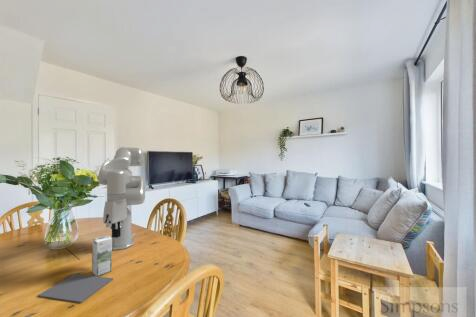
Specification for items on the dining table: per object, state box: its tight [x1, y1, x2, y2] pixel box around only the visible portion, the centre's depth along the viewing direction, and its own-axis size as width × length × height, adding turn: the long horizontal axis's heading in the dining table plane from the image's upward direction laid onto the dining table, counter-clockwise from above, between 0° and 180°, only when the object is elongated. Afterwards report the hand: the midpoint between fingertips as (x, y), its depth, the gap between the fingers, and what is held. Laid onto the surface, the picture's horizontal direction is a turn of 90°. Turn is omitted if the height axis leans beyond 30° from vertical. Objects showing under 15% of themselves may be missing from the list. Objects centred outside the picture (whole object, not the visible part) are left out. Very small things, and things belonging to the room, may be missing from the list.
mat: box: [37, 273, 114, 304], centre depth 78 cm, size 14×18×1 cm
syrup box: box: [91, 234, 113, 277], centre depth 89 cm, size 6×6×14 cm
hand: (116, 236), depth 97 cm, fingers closed
